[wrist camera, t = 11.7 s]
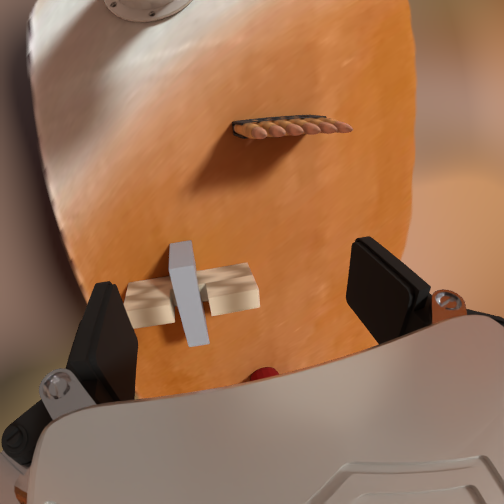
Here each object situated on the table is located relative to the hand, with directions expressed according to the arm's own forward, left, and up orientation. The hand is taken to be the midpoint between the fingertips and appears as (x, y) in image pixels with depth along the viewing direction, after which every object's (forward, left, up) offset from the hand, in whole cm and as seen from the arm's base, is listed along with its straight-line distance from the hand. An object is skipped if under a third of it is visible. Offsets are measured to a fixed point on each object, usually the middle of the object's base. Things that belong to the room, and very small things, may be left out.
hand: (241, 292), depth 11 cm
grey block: (+17, -4, -28) cm, 33 cm away
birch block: (+17, -4, -28) cm, 33 cm away
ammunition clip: (-4, +10, -29) cm, 31 cm away
